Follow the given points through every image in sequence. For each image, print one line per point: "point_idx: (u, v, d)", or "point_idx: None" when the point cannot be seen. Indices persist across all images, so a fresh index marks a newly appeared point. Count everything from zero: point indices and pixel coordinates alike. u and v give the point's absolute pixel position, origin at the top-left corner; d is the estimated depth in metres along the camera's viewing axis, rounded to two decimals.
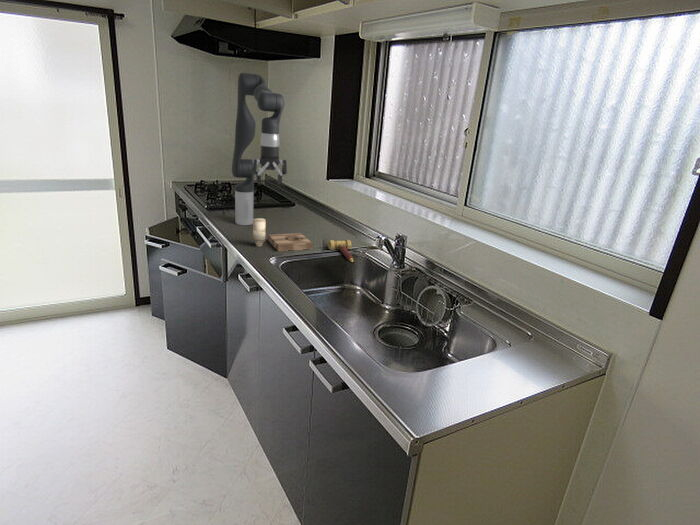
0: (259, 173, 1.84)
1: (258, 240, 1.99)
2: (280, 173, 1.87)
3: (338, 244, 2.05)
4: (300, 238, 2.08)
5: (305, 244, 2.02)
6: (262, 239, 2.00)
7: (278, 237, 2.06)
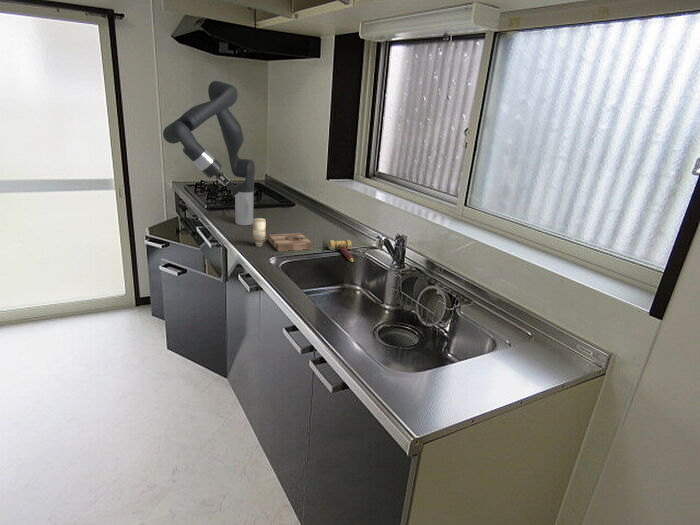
0: None
1: (258, 240, 1.99)
2: (227, 187, 1.85)
3: (338, 244, 2.05)
4: (300, 238, 2.08)
5: (305, 244, 2.02)
6: (262, 239, 2.00)
7: (278, 237, 2.06)
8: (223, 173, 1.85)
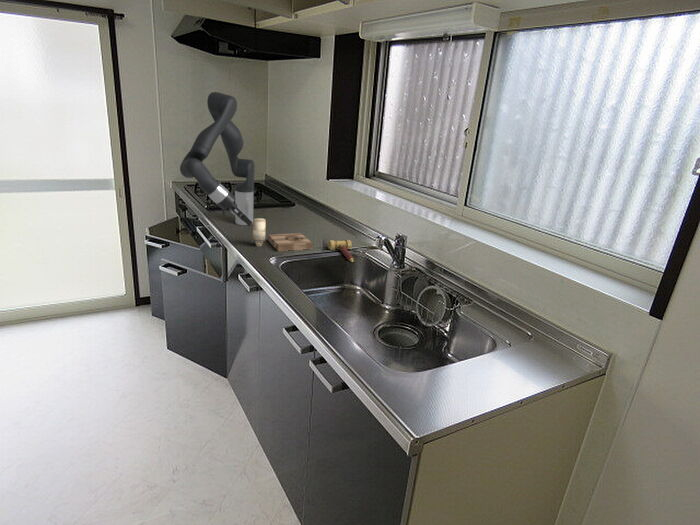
0: None
1: (258, 240, 1.99)
2: None
3: (338, 244, 2.05)
4: (300, 238, 2.08)
5: (305, 244, 2.02)
6: (262, 239, 2.00)
7: (278, 237, 2.06)
8: (237, 205, 1.91)
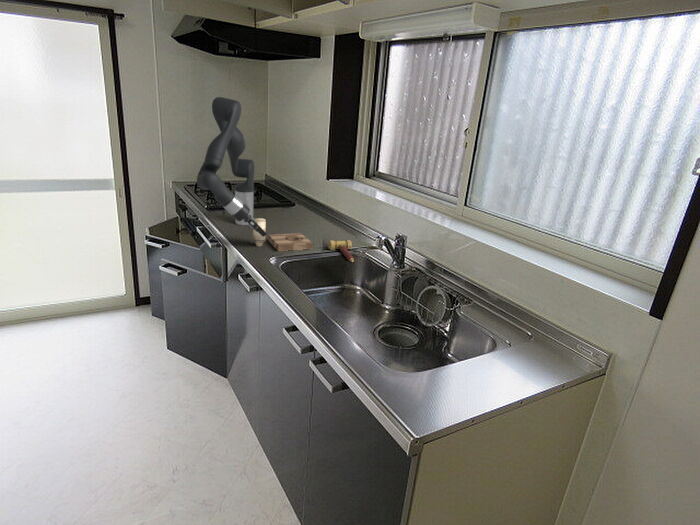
0: None
1: (258, 240, 1.99)
2: None
3: (338, 244, 2.05)
4: (300, 238, 2.08)
5: (305, 244, 2.02)
6: (262, 239, 2.00)
7: (278, 237, 2.06)
8: (251, 217, 1.95)
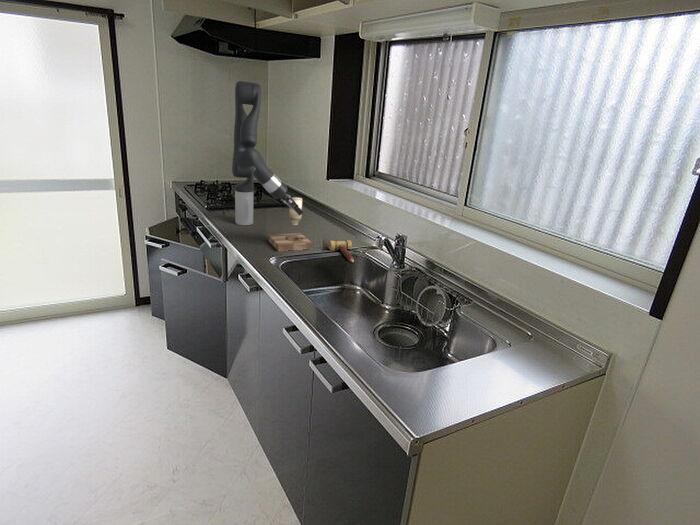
0: (288, 205, 2.04)
1: (295, 219, 2.01)
2: None
3: (338, 244, 2.05)
4: (300, 238, 2.08)
5: (305, 244, 2.02)
6: (298, 218, 2.02)
7: (278, 237, 2.06)
8: (289, 195, 1.97)
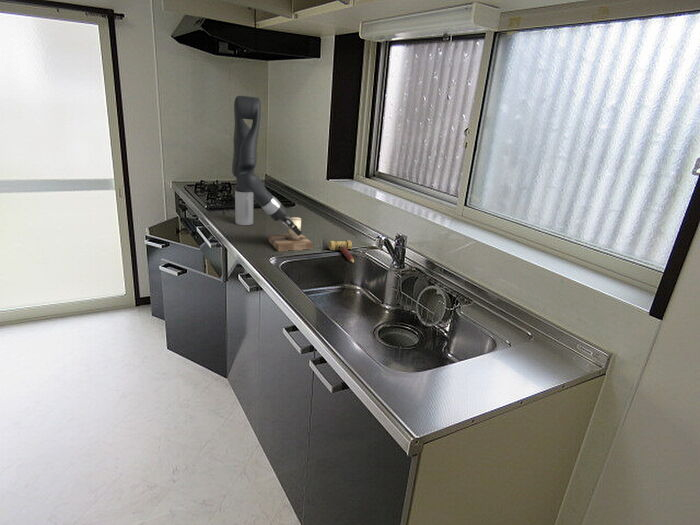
0: None
1: (294, 238, 2.04)
2: None
3: (339, 244, 2.04)
4: (300, 238, 2.08)
5: (305, 244, 2.02)
6: (297, 237, 2.05)
7: (278, 237, 2.06)
8: (288, 216, 2.00)
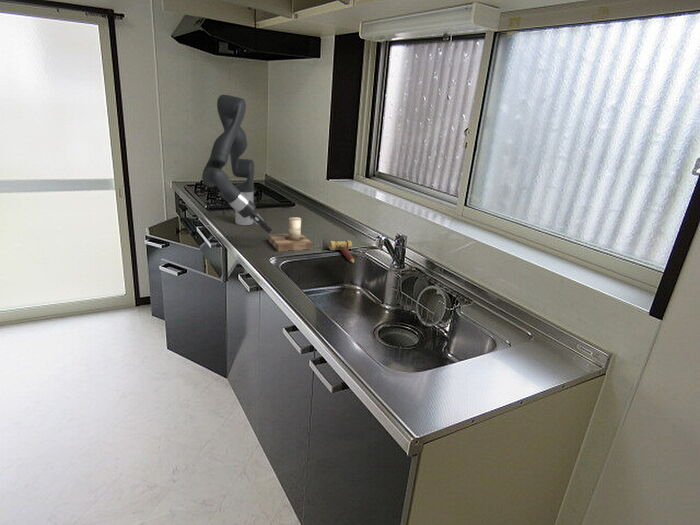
0: None
1: (294, 238, 2.04)
2: None
3: (339, 245, 2.04)
4: (300, 238, 2.08)
5: (305, 244, 2.02)
6: (297, 237, 2.05)
7: (278, 237, 2.06)
8: (257, 213, 1.94)
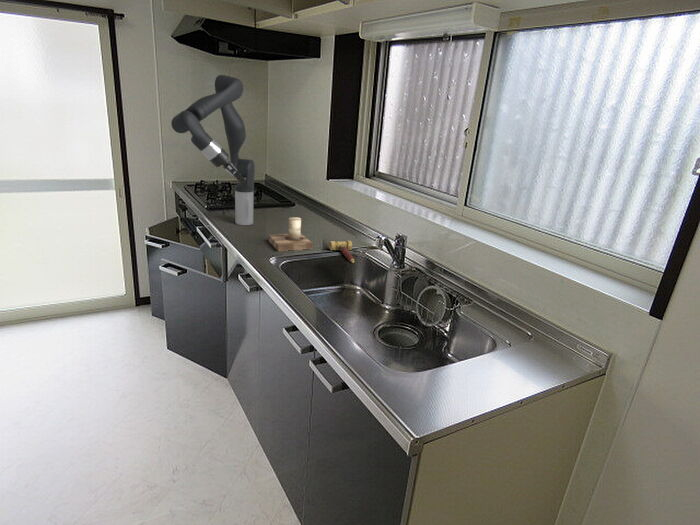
0: None
1: (294, 238, 2.04)
2: (234, 176, 1.87)
3: (339, 245, 2.04)
4: (300, 238, 2.08)
5: (305, 244, 2.02)
6: (297, 237, 2.05)
7: (278, 237, 2.06)
8: (230, 163, 1.87)
